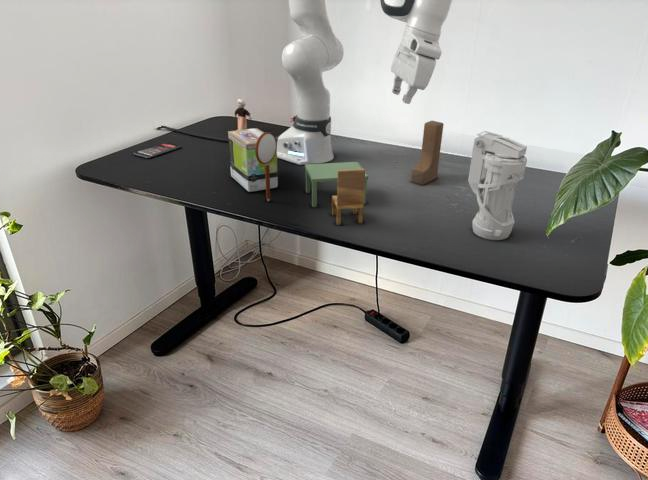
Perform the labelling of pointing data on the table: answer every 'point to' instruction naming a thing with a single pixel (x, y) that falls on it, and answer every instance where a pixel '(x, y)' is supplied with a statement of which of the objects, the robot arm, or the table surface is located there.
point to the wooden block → (429, 153)
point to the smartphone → (156, 150)
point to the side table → (327, 176)
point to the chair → (349, 193)
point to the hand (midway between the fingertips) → (400, 98)
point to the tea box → (249, 161)
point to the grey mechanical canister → (495, 183)
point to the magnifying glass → (266, 155)
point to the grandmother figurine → (242, 115)
